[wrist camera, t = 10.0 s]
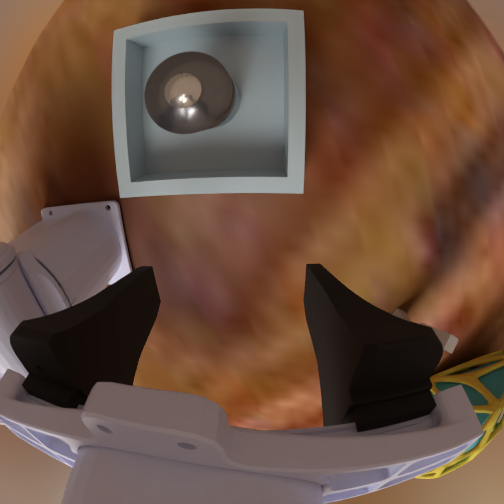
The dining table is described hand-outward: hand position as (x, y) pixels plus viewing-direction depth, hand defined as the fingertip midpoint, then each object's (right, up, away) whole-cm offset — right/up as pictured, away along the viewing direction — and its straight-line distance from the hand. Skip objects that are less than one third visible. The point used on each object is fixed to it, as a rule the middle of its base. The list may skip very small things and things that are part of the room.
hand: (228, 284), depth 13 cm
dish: (-2, +12, +5) cm, 13 cm away
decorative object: (+32, -18, +19) cm, 42 cm away
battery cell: (-2, +12, +4) cm, 13 cm away
